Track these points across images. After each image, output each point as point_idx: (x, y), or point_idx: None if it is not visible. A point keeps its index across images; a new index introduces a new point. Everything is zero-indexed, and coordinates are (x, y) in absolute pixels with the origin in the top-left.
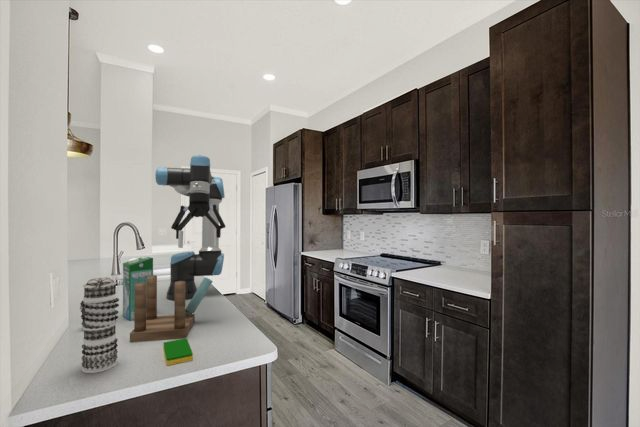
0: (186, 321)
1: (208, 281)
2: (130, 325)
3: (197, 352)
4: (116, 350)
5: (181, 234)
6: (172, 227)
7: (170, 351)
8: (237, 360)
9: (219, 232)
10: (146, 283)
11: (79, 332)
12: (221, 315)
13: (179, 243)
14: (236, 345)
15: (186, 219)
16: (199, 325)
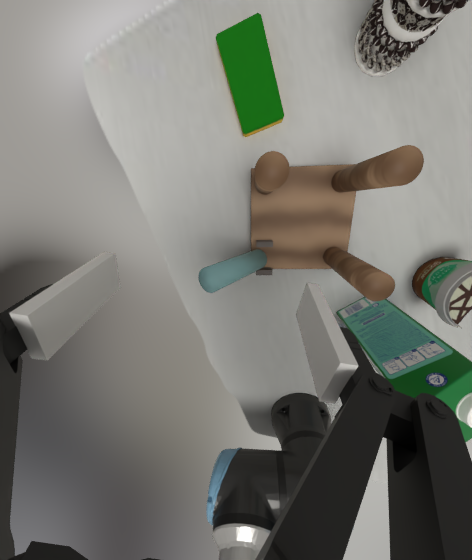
0: (258, 220)
1: (206, 267)
2: (368, 263)
3: (215, 85)
4: (367, 34)
5: (322, 350)
6: (439, 404)
7: (260, 56)
8: (135, 27)
9: (17, 304)
10: (383, 346)
11: (458, 241)
12: None
13: (316, 295)
14: (150, 111)
15: (315, 498)
16: (238, 238)
